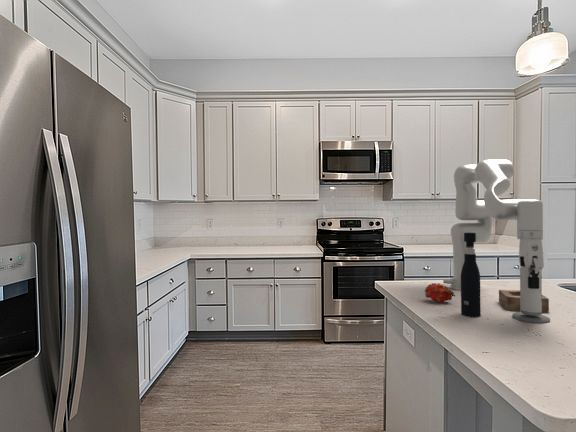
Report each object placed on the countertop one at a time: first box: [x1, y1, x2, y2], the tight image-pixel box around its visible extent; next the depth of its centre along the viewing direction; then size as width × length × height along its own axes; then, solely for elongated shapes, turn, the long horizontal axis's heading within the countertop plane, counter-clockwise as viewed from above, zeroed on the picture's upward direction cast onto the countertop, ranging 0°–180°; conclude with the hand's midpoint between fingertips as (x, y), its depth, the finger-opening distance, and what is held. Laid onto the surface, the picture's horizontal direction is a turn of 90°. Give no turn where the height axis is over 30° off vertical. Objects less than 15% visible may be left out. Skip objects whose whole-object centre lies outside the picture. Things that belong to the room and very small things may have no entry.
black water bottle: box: [460, 233, 482, 318], centre depth 133 cm, size 6×6×30 cm
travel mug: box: [519, 256, 543, 316], centre depth 127 cm, size 6×7×20 cm
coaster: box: [511, 311, 551, 324], centre depth 127 cm, size 11×11×1 cm
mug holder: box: [498, 289, 550, 313], centre depth 142 cm, size 13×13×5 cm
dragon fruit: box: [424, 282, 456, 304], centre depth 151 cm, size 8×8×12 cm
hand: (530, 285), depth 127 cm, fingers closed on travel mug, 6 cm apart
